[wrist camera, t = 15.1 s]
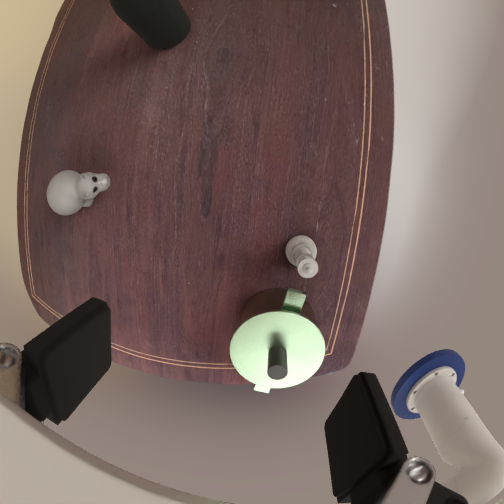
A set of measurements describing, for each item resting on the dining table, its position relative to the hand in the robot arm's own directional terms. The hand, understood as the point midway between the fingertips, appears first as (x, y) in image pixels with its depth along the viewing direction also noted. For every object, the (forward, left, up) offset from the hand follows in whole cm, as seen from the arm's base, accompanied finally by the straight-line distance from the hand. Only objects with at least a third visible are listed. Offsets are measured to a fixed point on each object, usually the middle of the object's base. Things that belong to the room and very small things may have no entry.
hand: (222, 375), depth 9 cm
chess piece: (-6, +1, -31) cm, 32 cm away
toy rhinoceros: (+29, 0, -31) cm, 43 cm away
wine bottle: (+23, -29, -31) cm, 49 cm away
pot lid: (-6, +13, -22) cm, 27 cm away
